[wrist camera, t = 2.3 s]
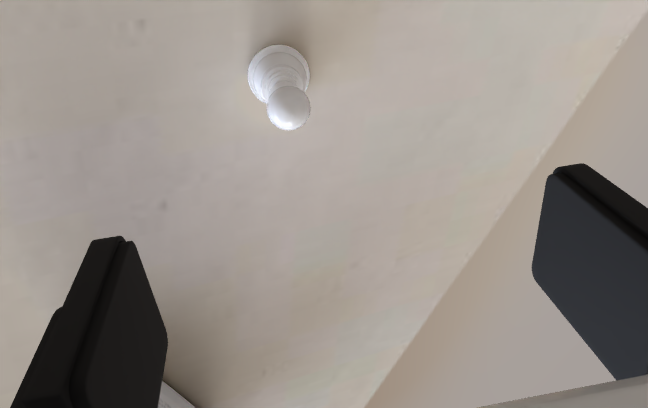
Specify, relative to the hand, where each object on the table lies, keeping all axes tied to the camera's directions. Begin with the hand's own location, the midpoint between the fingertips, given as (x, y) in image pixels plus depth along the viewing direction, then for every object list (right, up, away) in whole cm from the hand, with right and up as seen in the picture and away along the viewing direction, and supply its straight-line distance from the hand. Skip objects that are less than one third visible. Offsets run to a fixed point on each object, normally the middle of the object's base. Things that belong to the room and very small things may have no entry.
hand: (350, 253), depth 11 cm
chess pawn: (-3, +7, +12) cm, 14 cm away
